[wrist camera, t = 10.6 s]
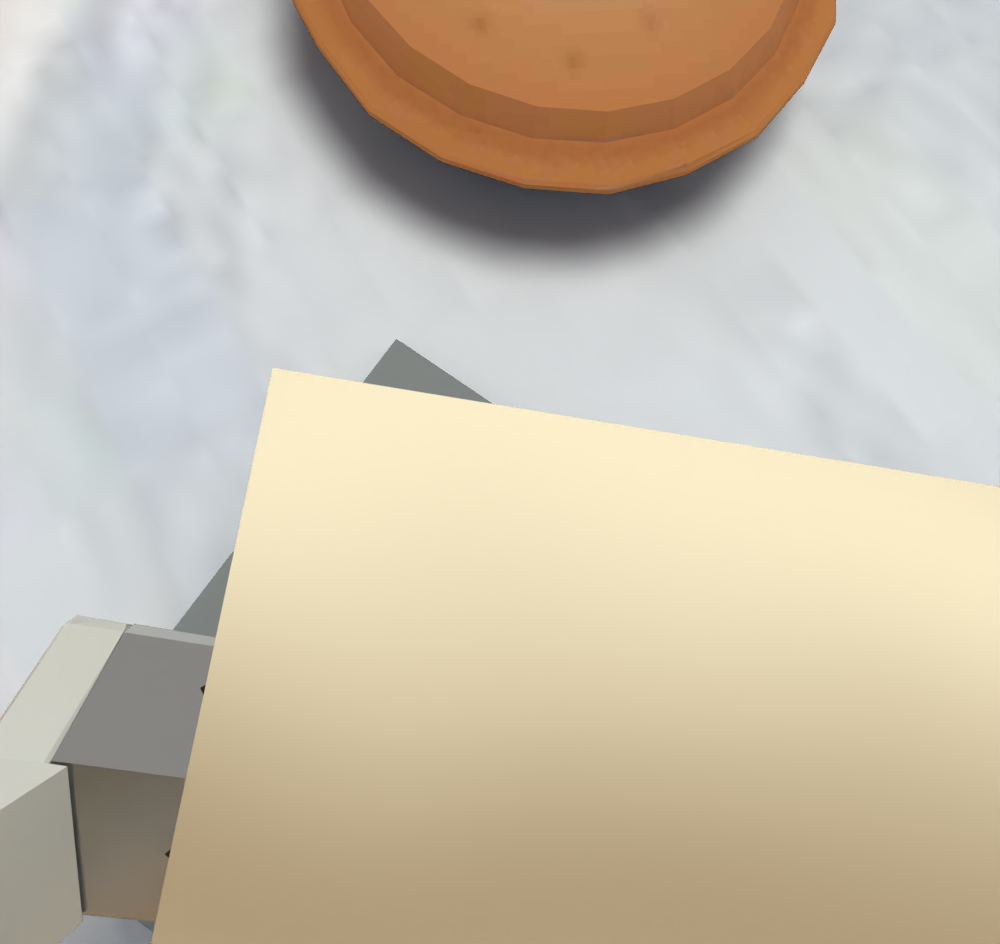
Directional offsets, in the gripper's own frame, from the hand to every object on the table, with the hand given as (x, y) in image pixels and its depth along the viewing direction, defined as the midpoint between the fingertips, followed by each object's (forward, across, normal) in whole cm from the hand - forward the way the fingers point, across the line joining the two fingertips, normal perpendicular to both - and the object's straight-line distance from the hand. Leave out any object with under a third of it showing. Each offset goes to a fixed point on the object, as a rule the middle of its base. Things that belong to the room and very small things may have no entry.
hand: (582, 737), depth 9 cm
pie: (+26, +1, -4) cm, 26 cm away
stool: (+6, 0, +7) cm, 9 cm away
